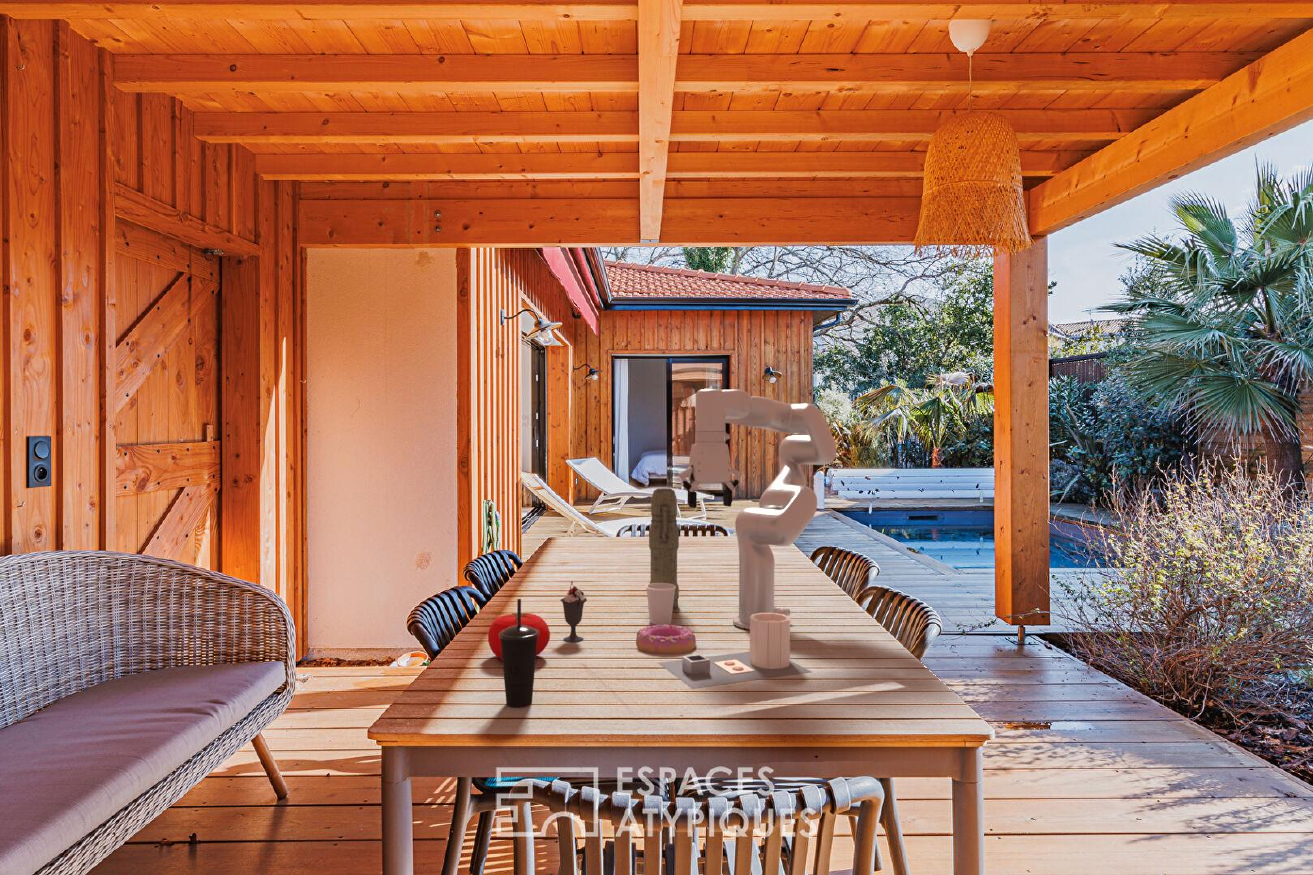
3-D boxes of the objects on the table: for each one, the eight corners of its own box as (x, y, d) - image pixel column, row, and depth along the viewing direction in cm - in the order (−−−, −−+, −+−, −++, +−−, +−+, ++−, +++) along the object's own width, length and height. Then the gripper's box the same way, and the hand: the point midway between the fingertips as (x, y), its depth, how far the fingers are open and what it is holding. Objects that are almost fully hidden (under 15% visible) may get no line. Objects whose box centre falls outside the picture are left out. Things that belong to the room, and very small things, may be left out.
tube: (776, 654, 175) (776, 611, 175) (797, 666, 166) (797, 620, 166) (742, 659, 171) (743, 614, 171) (763, 670, 163) (763, 624, 163)
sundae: (565, 644, 187) (565, 583, 187) (556, 638, 193) (556, 578, 192) (590, 641, 190) (590, 581, 190) (580, 634, 196) (580, 576, 196)
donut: (652, 639, 192) (652, 620, 192) (704, 647, 186) (705, 626, 186) (625, 654, 179) (625, 633, 179) (680, 663, 173) (680, 641, 173)
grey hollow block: (700, 667, 165) (701, 654, 165) (710, 673, 161) (710, 659, 161) (682, 670, 163) (682, 656, 163) (691, 676, 159) (691, 662, 159)
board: (768, 654, 179) (768, 647, 179) (812, 677, 162) (812, 670, 162) (658, 668, 169) (658, 661, 168) (692, 694, 152) (692, 686, 152)
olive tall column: (674, 601, 234) (675, 487, 234) (681, 610, 222) (682, 490, 222) (646, 602, 233) (646, 487, 232) (651, 611, 221) (652, 490, 221)
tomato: (475, 662, 173) (475, 616, 172) (506, 647, 184) (506, 604, 184) (530, 669, 167) (530, 622, 167) (559, 653, 179) (559, 609, 179)
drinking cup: (501, 696, 150) (501, 595, 150) (540, 695, 151) (540, 594, 151) (496, 710, 143) (496, 604, 142) (537, 709, 143) (537, 603, 143)
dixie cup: (663, 627, 203) (663, 590, 203) (639, 622, 208) (639, 586, 208) (682, 621, 210) (682, 585, 210) (657, 616, 215) (657, 581, 215)
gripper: (733, 438, 198) (733, 504, 199) (672, 438, 192) (672, 506, 192) (748, 438, 191) (747, 506, 192) (685, 438, 185) (684, 509, 185)
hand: (710, 506), depth 192 cm, fingers open, 9 cm apart
